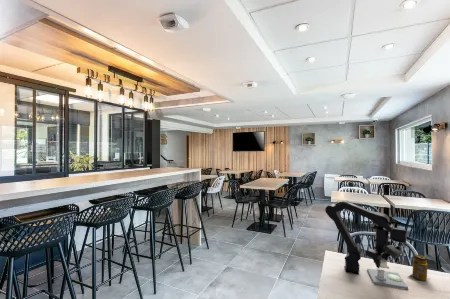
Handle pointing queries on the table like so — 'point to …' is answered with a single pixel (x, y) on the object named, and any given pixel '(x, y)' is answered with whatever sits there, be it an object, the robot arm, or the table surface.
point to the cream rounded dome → (383, 264)
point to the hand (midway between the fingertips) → (381, 266)
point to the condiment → (419, 269)
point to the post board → (386, 278)
